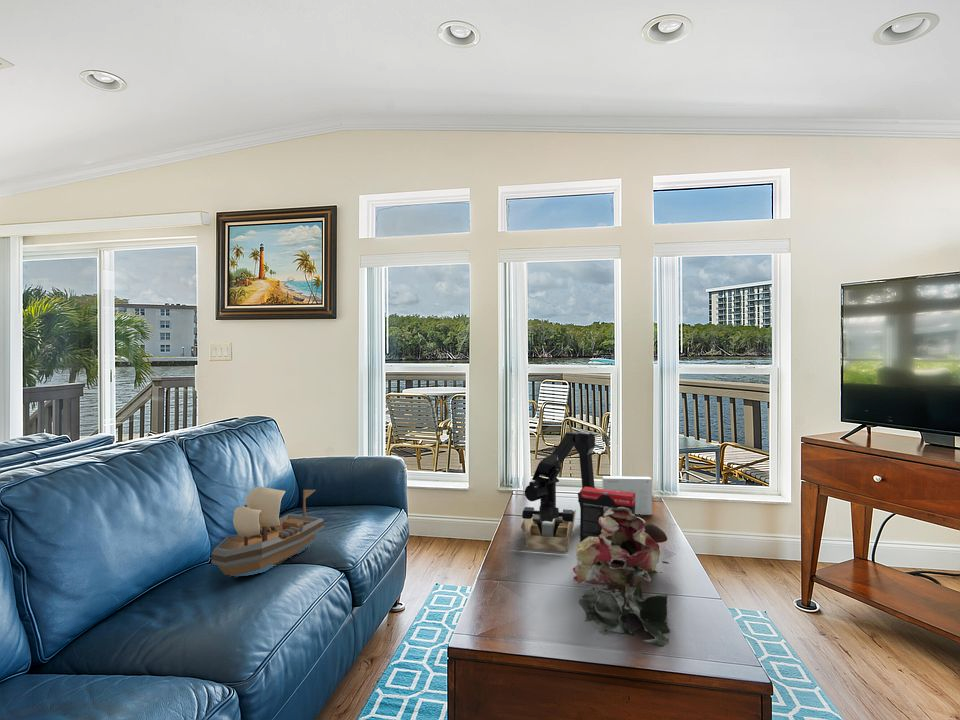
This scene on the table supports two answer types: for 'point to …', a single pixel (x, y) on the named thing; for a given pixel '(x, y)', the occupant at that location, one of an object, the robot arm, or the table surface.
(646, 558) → the rose bouquet
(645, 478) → the skincare box
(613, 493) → the graphics card box
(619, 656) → the table surface
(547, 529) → the box
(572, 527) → the wooden cubby shelf
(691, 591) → the table surface
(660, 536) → the decorative mushroom
